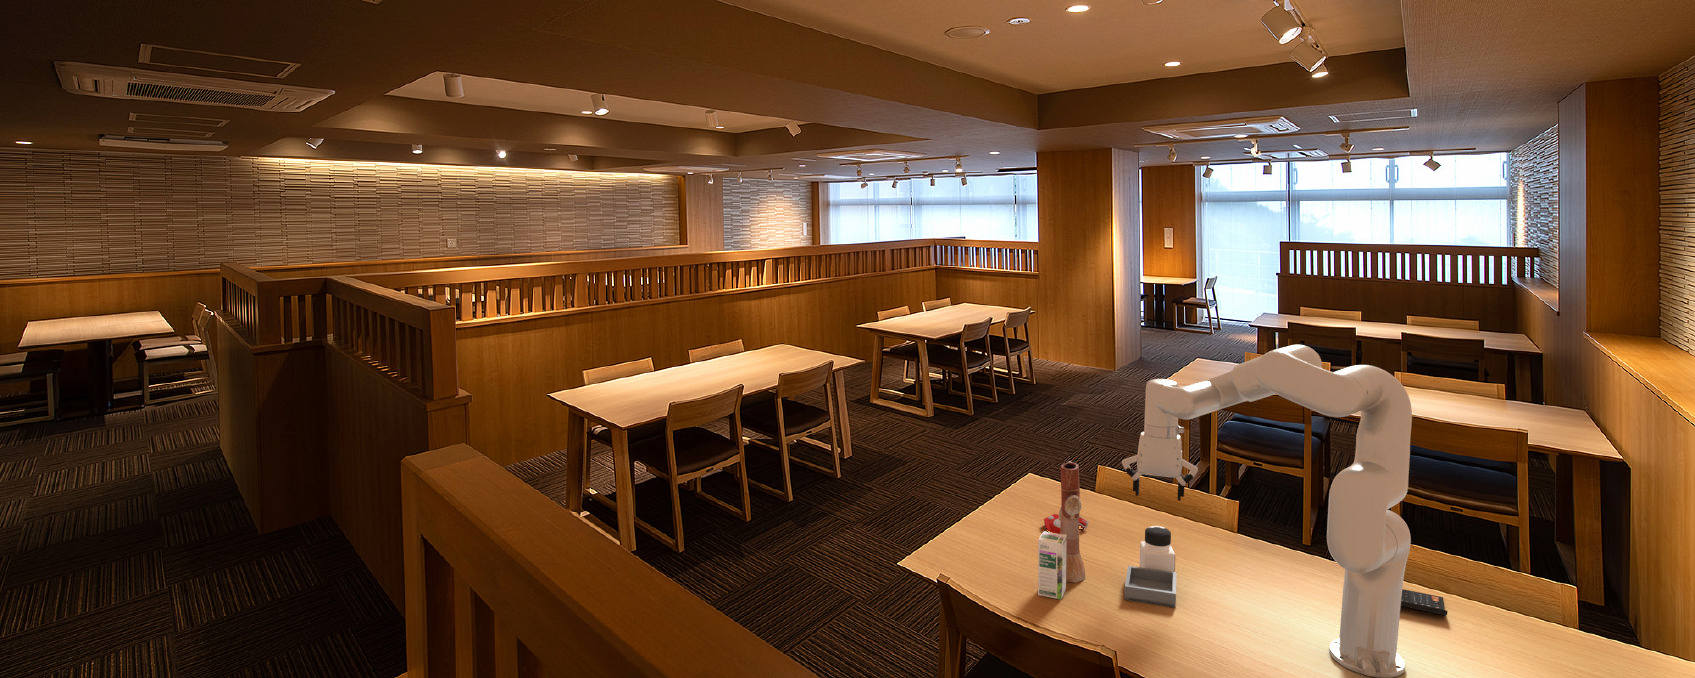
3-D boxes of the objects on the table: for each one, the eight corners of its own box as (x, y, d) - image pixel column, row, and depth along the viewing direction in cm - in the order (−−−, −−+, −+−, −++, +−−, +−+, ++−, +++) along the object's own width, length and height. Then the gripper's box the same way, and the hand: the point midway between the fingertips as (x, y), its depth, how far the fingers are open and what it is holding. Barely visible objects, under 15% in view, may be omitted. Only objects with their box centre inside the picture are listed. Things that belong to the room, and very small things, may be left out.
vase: (1057, 566, 199) (1058, 455, 194) (1086, 570, 196) (1088, 458, 191) (1052, 585, 189) (1053, 469, 184) (1083, 589, 186) (1084, 472, 181)
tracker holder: (1059, 537, 214) (1035, 517, 222) (1059, 548, 216) (1036, 529, 224) (1092, 519, 218) (1068, 500, 226) (1092, 530, 220) (1068, 512, 228)
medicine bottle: (1174, 581, 188) (1176, 535, 186) (1144, 579, 190) (1145, 534, 188) (1168, 568, 195) (1170, 523, 193) (1139, 566, 197) (1140, 522, 195)
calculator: (1442, 600, 175) (1443, 588, 175) (1446, 624, 166) (1447, 611, 166) (1392, 590, 181) (1393, 578, 180) (1393, 612, 171) (1394, 600, 171)
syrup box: (1037, 595, 184) (1037, 539, 182) (1043, 584, 189) (1043, 529, 187) (1061, 600, 182) (1061, 543, 179) (1066, 589, 187) (1067, 533, 184)
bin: (1175, 608, 176) (1176, 593, 176) (1124, 599, 181) (1124, 586, 180) (1176, 585, 186) (1176, 572, 186) (1127, 578, 191) (1128, 565, 190)
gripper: (1199, 428, 186) (1196, 495, 189) (1124, 422, 193) (1122, 486, 196) (1200, 437, 179) (1196, 506, 183) (1122, 431, 186) (1119, 497, 189)
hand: (1157, 496), depth 189 cm, fingers open, 9 cm apart
